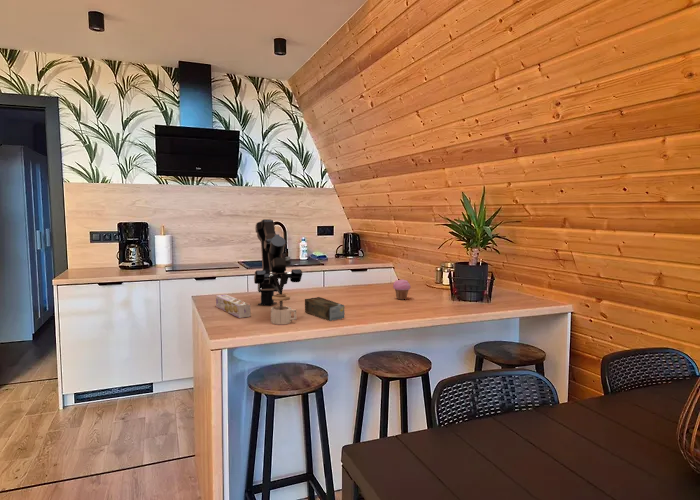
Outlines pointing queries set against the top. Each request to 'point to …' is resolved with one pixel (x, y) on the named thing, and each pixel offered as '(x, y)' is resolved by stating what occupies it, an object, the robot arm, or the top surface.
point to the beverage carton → (324, 308)
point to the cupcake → (401, 288)
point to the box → (233, 306)
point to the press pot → (282, 315)
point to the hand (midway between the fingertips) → (280, 293)
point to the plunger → (281, 299)
